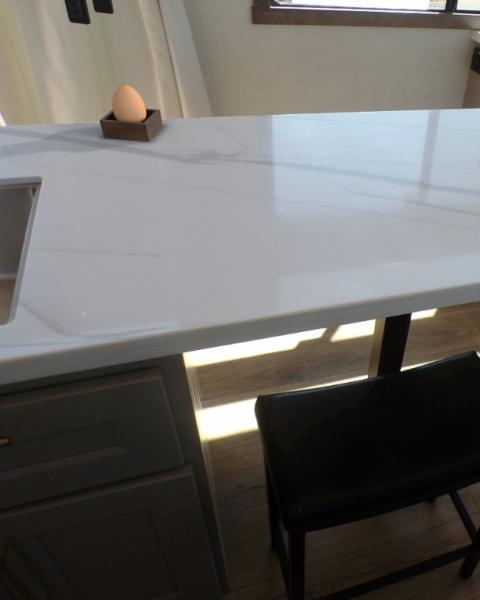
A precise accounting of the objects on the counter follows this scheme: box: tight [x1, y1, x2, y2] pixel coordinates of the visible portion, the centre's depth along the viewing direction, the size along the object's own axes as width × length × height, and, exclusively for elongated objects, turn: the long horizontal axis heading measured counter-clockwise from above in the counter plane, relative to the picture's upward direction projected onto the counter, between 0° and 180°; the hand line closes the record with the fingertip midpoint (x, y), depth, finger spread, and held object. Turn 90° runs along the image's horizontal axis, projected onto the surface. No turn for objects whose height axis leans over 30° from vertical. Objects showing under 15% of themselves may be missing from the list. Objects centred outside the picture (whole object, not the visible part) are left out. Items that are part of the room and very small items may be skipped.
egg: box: [111, 84, 147, 123], centre depth 100 cm, size 6×6×8 cm
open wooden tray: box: [99, 108, 164, 143], centre depth 102 cm, size 8×8×3 cm
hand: (92, 17), depth 90 cm, fingers open, 9 cm apart
